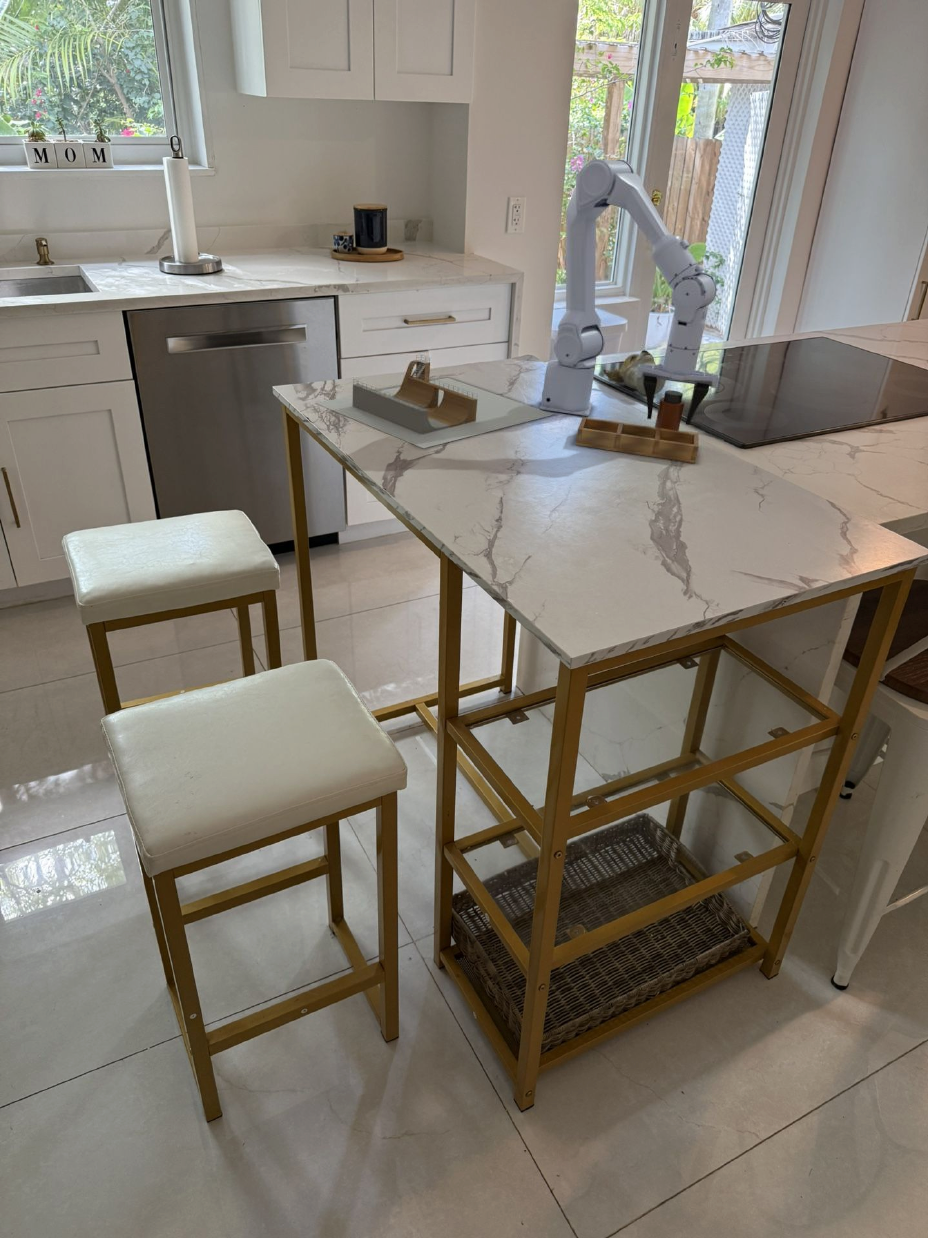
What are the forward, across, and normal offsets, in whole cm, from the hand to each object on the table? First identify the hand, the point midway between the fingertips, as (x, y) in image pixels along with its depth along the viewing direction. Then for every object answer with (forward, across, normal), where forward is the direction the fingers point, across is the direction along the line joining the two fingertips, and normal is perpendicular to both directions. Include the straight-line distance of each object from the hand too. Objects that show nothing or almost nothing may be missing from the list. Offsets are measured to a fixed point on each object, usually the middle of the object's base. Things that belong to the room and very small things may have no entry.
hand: (668, 420), depth 164 cm
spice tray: (+3, -5, -10) cm, 12 cm away
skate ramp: (+3, -43, -5) cm, 43 cm away
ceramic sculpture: (+3, -7, +30) cm, 31 cm away
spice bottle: (+3, 0, 0) cm, 3 cm away
